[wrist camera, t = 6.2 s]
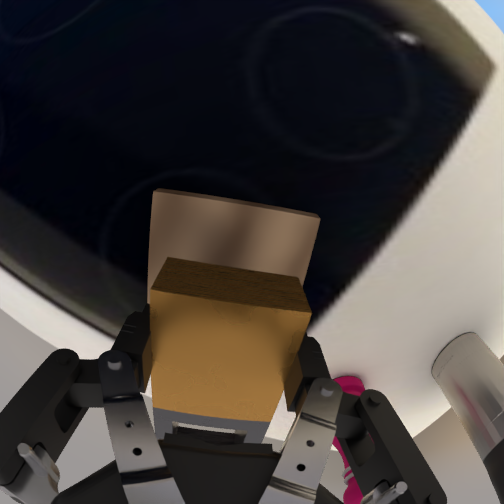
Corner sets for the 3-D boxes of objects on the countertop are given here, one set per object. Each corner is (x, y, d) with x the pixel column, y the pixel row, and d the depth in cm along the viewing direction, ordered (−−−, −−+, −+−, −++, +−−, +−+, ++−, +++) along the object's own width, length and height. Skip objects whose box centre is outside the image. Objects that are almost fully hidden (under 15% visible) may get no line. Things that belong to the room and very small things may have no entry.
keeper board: (316, 214, 26) (320, 218, 25) (277, 354, 32) (278, 363, 30) (158, 188, 25) (153, 191, 23) (151, 335, 30) (148, 344, 29)
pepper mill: (308, 409, 36) (335, 540, 18) (320, 374, 33) (360, 524, 15) (357, 405, 36) (396, 525, 18) (372, 370, 34) (429, 502, 15)
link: (298, 277, 14) (311, 312, 11) (245, 441, 19) (246, 474, 16) (167, 256, 13) (150, 289, 10) (164, 430, 18) (158, 463, 15)
